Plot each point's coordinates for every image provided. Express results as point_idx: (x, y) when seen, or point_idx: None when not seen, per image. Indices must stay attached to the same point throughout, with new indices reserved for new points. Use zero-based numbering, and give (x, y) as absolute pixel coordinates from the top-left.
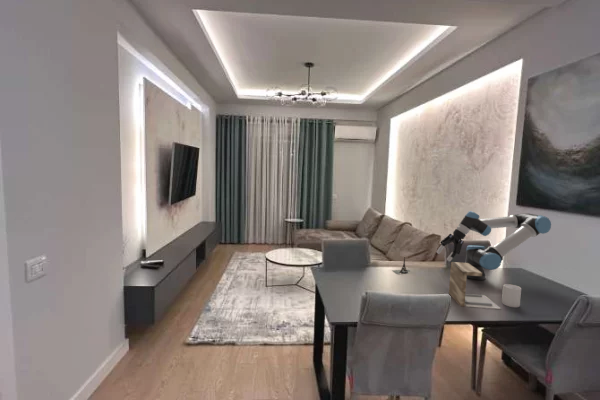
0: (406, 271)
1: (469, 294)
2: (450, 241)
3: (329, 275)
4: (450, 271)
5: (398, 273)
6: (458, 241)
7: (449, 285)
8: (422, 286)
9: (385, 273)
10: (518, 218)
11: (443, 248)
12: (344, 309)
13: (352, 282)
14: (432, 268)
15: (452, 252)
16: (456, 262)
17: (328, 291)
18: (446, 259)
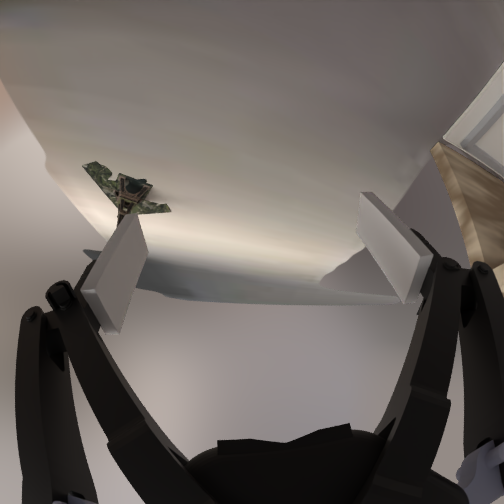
0: (123, 182)
1: (496, 119)
2: (167, 442)
3: (218, 296)
4: (466, 245)
5: (157, 207)
6: (424, 493)
7: (444, 180)
8: (328, 190)
9: (170, 234)
10: None
11: (107, 266)
12: (378, 299)
13: (264, 285)
14: (2, 63)
15: (413, 296)
16: (500, 288)
17: (307, 303)
18: (357, 231)
